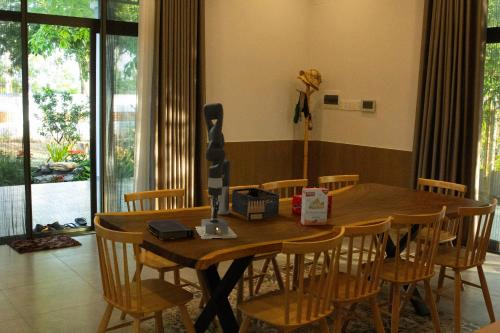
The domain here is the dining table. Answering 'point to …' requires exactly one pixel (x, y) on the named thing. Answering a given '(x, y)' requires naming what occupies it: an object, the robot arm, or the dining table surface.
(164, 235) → the diary
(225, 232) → the grey stand
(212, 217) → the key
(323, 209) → the cracker box
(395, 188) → the dining table surface
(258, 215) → the ammunition clip
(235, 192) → the storage bin
